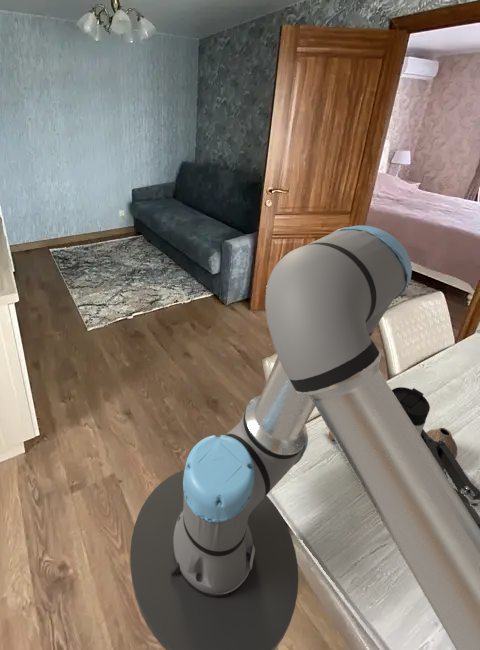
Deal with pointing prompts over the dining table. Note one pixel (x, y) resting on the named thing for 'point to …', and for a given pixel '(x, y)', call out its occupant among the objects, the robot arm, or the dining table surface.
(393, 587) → the dining table surface
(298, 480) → the dining table surface
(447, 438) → the vase
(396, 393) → the travel mug
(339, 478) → the dining table surface
